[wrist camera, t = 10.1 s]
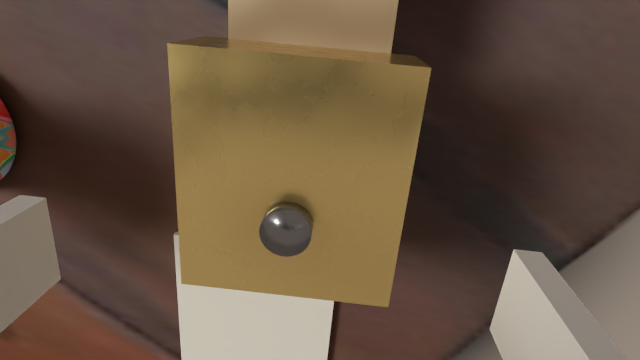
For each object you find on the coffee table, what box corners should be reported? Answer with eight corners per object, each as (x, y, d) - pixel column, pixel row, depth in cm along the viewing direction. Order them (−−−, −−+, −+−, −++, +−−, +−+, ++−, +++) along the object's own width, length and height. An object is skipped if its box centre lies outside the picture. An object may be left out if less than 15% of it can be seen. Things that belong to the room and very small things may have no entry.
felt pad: (176, 231, 28) (173, 234, 27) (340, 249, 27) (339, 252, 27) (183, 355, 32) (181, 359, 31) (325, 372, 31) (325, 376, 31)
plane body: (259, -294, 17) (192, -519, 10) (426, -284, 17) (484, -506, 10) (250, 212, 27) (211, 290, 19) (358, 224, 26) (361, 307, 19)
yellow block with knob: (205, 36, 18) (156, 44, 13) (414, 55, 17) (435, 70, 13) (210, 237, 22) (174, 295, 17) (381, 255, 21) (389, 320, 17)
